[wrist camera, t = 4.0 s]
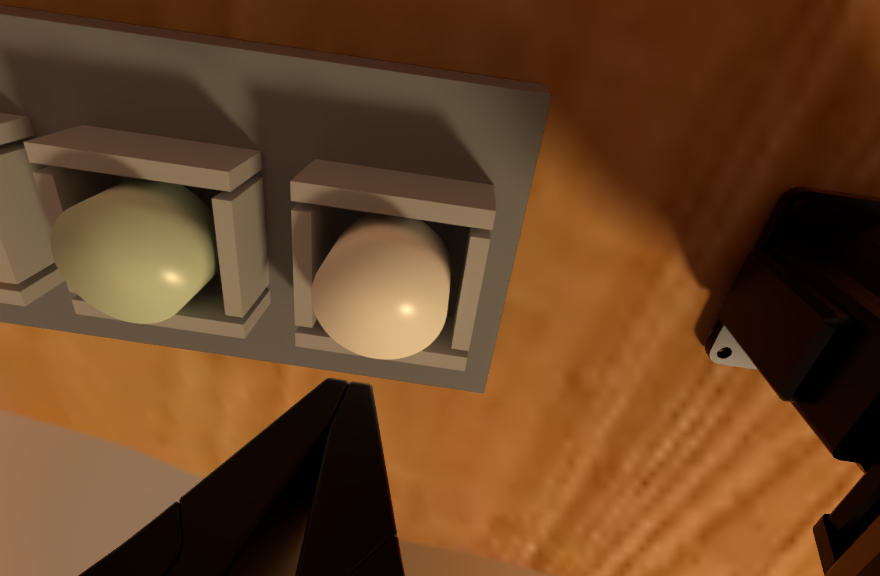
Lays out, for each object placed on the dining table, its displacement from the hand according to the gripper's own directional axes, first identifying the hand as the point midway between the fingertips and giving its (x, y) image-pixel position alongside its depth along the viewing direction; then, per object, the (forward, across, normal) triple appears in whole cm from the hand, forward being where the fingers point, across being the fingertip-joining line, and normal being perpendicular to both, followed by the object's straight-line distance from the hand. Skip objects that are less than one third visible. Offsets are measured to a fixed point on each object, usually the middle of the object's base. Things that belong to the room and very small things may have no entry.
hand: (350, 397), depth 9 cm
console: (+8, +7, 0) cm, 11 cm away
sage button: (+5, +7, 0) cm, 8 cm away
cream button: (+5, 0, 0) cm, 5 cm away
